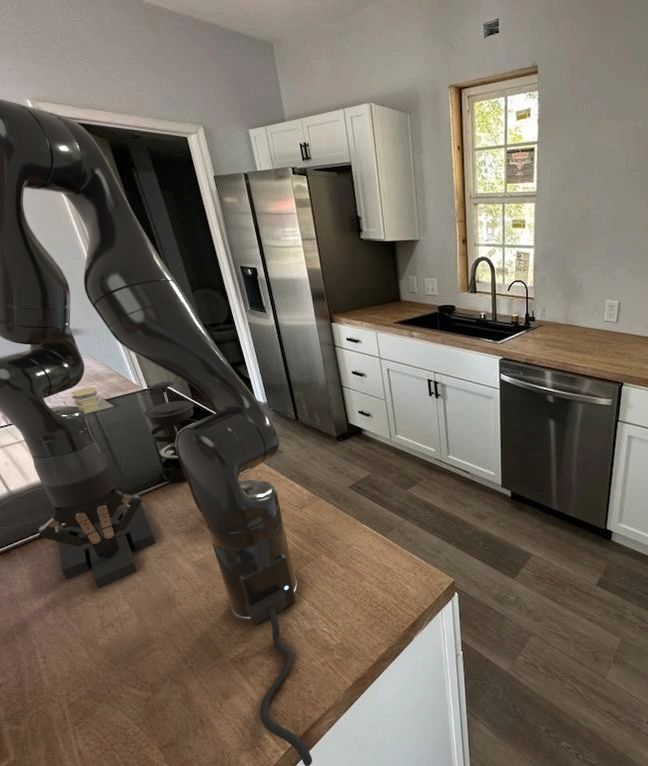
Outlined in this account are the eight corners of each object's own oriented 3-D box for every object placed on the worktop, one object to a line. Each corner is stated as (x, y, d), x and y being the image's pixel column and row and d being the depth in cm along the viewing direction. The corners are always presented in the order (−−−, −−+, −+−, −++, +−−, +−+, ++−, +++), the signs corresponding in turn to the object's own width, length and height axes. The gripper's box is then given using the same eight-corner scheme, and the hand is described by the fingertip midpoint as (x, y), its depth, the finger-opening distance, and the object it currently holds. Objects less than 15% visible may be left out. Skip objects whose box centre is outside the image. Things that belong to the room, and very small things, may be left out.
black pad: (92, 556, 75) (88, 548, 74) (128, 542, 78) (125, 534, 77) (98, 588, 68) (94, 579, 68) (137, 571, 72) (133, 562, 71)
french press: (157, 471, 100) (128, 383, 91) (202, 455, 107) (179, 372, 98) (173, 490, 93) (143, 397, 85) (220, 472, 100) (196, 384, 92)
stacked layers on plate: (114, 406, 133) (108, 390, 131) (76, 416, 126) (69, 399, 124) (103, 399, 138) (97, 384, 136) (66, 408, 131) (59, 392, 129)
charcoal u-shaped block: (156, 542, 78) (152, 534, 77) (66, 579, 70) (61, 570, 69) (143, 509, 87) (140, 501, 86) (62, 538, 79) (58, 530, 78)
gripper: (11, 499, 59) (57, 589, 65) (132, 463, 68) (162, 545, 75) (12, 478, 64) (55, 563, 70) (125, 447, 73) (154, 525, 79)
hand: (110, 554), depth 72 cm, fingers closed
